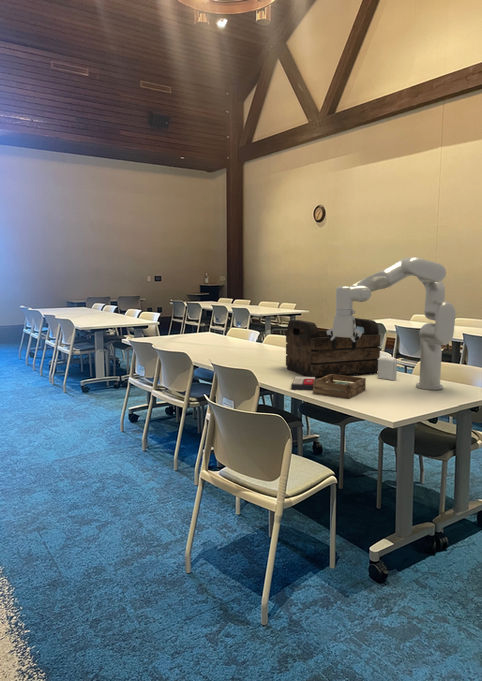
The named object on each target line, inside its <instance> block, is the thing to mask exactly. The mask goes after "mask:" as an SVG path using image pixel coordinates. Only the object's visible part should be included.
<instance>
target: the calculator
mask: <svg viewBox="0 0 482 681" xmlns="http://www.w3.org/2000/svg"><path fill="white" fill-rule="evenodd" d="M314 380H317V379H316V378H315V377H305V376H294V377H293V380H292V382H291V385H290V386H291V390H294V391H310V392H311V391H312V392H313V381H314Z"/></svg>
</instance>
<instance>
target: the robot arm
mask: <svg viewBox="0 0 482 681" xmlns="http://www.w3.org/2000/svg"><path fill="white" fill-rule="evenodd" d="M446 275H447V269H446V267H445V266H444V265H443V264H441V263H439V262H434V261H431V260H427V259H424V258H421V257H418V256H417V257H415V256H413V257H411V256H410V257H405V258H401V259H400V260H398V261H396V262H394V263H393V264H390V265H389V266H387V267H385V268H384V269H382V270H380V271H378V272H375V273H373V274H371V275H369V276H367V277H365V278H363V279H361V280H359V281H357V282H356V283H354V284H352V285H351V286H349V285H347V286H346V285H345V286H344V285H341V286H337V287H336V288H335V315H334V318H333V323H332V328H329V329H326V330H327V331H326V332H327V334H328V337H329V338H330V339H331V341H332V349H335V348H336V340H335V339H336V338H337V337H346V338H351V339H352V341H353V342H352V351H353V350H355V349H356V341H357V340H359V339H360V337H361V335H362V333H363V332H362V331H360V330H359V329H356V324H355V318H356V317H355V316H354V314H356V311H355V310H354V308H353V307H354V306H353V302H358V303H359V302H360V303H364V302H367V301H369V300H370V298H371V296H372V293H373V292H376V291H379V290H385V289H388V288H391V287H393V286H395V285H396V284H397V283H398V282H401V281H402V280H405V279H406V278H408V277H412V276H413V277H416V278H417V280H418V281H419V282H421V283H422V285H423V286H424V289H425V300H424V301H425V302H424V312H423V313H424V317H425V318H426V319H428V320H430V321H433V322H435V323H433V322H428V323H425V324H423V325H422V327H420V330H419V333H418V334H419V342H420V360H419V382H417V383H416V384H415V387H416V388H418V389H421V390H427V391H429V390H430V391H439V390H443V389H444V385H443V384H441V377H442V376H441V375H442V374H441V373H442V355H443V354H442V352H443V350H442V346H446V345H448V344H450V343H451V342H452V340H453V338H454V332H455V324H456V315H457V314H456V309H455V306H454V305H453V304H452V303H451V302H449V301H446V300H445V297H446V289H445V284H444V282H443V280H444V279H445V278H446ZM332 331H333V336H332V335H331V332H332ZM356 333H357V334H358V336H357V337H355V336H356Z"/></svg>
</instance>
